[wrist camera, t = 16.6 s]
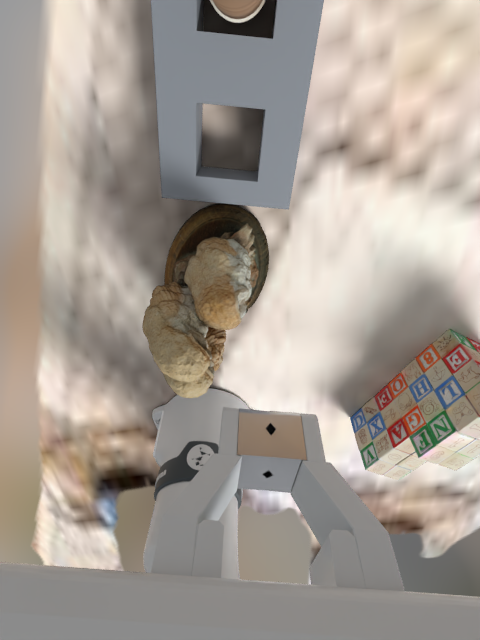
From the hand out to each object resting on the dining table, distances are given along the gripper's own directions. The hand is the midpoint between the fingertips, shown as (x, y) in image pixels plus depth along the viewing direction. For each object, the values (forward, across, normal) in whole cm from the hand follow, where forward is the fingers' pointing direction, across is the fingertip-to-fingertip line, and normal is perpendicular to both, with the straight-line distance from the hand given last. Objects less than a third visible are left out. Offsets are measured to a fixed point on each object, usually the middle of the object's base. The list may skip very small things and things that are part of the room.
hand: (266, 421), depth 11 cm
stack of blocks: (+30, +26, -27) cm, 48 cm away
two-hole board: (+29, -3, +9) cm, 31 cm away
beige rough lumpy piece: (+29, -4, -11) cm, 32 cm away
